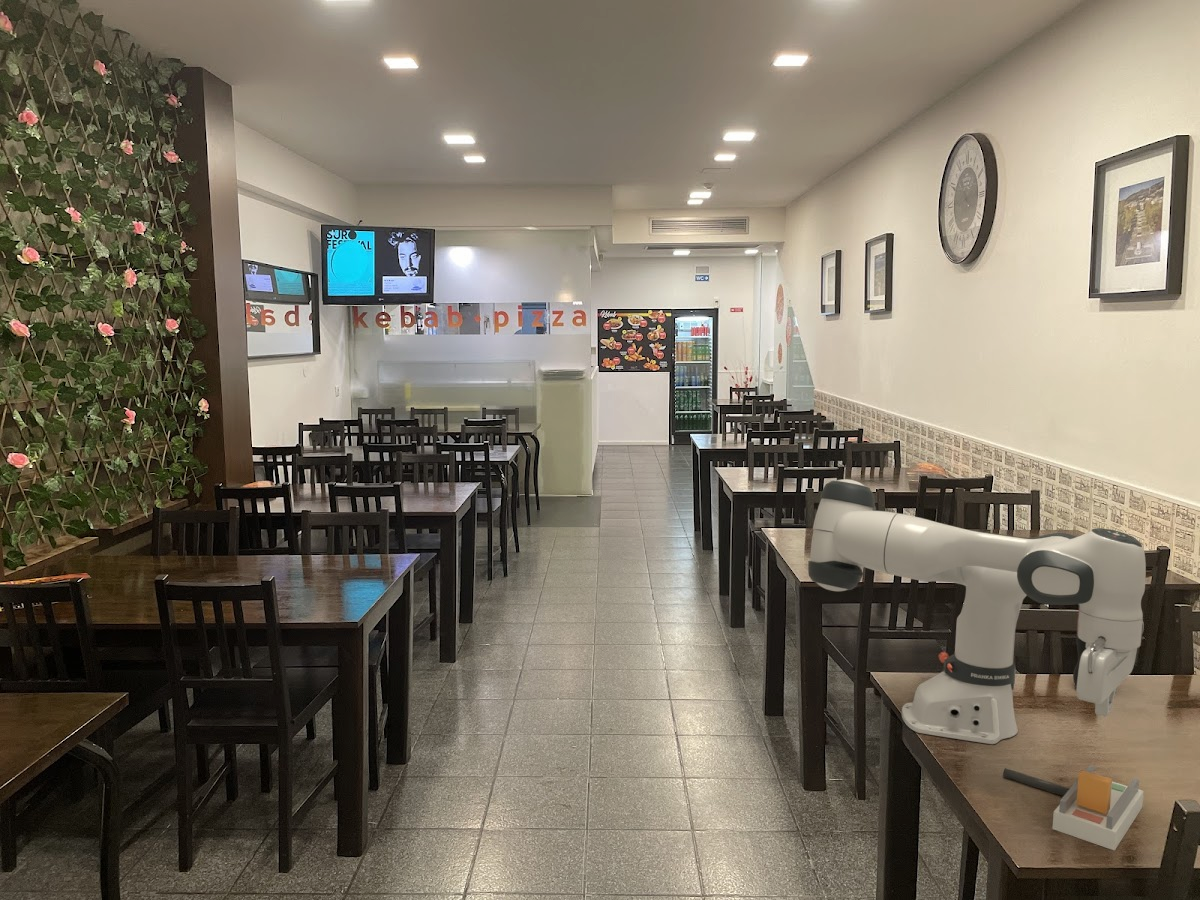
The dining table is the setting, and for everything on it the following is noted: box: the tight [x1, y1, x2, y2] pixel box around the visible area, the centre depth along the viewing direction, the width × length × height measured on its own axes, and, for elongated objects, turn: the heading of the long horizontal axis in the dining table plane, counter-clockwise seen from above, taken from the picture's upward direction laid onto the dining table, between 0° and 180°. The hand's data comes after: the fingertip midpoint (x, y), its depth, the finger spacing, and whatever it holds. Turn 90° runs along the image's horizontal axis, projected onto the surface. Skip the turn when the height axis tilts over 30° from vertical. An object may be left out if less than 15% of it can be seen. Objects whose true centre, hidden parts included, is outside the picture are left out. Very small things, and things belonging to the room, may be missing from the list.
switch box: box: [1002, 764, 1144, 852], centre depth 151 cm, size 18×21×5 cm
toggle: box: [1077, 769, 1113, 814], centre depth 143 cm, size 2×4×5 cm, turn 46°
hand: (1103, 712), depth 143 cm, fingers closed
